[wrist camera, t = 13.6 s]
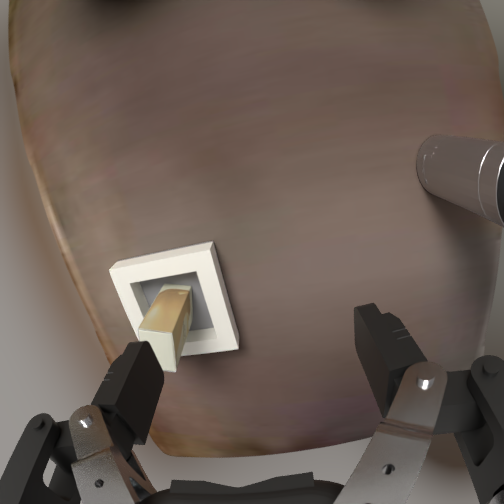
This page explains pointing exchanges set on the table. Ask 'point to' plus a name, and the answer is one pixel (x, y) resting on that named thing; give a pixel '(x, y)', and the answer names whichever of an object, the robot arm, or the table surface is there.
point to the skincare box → (168, 324)
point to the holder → (181, 273)
